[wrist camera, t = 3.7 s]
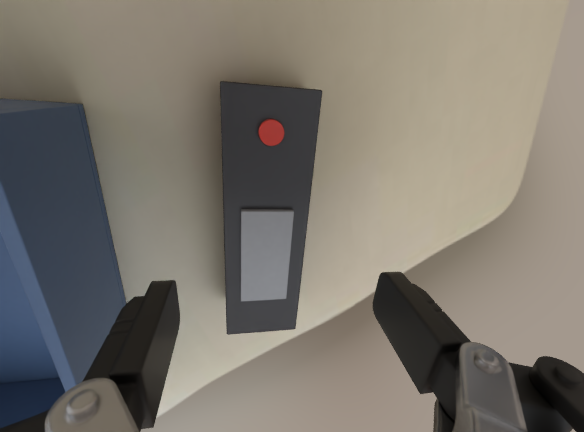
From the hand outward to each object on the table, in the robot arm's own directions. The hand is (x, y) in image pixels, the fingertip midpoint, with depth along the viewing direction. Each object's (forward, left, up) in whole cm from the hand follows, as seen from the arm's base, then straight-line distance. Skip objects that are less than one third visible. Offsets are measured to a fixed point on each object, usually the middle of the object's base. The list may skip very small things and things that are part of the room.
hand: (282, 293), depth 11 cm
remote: (0, 0, -9) cm, 9 cm away
